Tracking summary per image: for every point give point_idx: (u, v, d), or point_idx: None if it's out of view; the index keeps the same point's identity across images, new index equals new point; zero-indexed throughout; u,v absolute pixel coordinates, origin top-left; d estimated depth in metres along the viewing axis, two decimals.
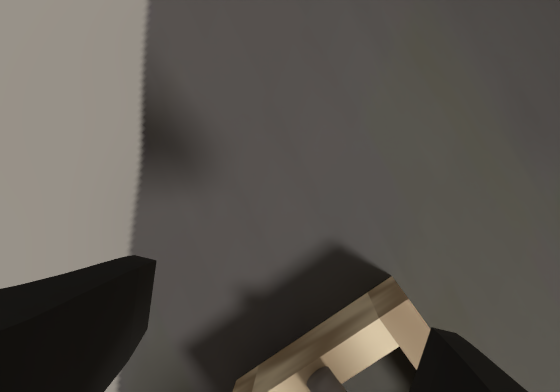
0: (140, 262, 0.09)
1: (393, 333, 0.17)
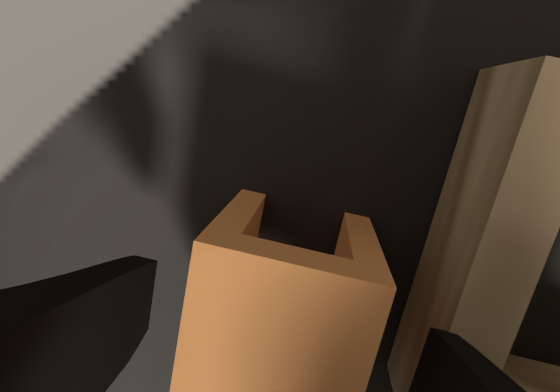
0: (141, 262, 0.09)
1: None
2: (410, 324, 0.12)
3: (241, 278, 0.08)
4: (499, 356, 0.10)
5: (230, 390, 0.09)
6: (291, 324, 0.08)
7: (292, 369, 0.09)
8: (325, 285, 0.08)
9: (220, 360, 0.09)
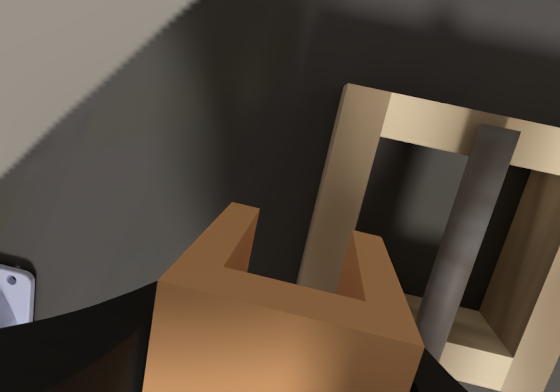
0: None
1: None
2: (302, 262, 0.18)
3: (221, 329, 0.06)
4: (338, 271, 0.15)
5: None
6: (285, 388, 0.06)
7: None
8: (330, 340, 0.06)
9: None
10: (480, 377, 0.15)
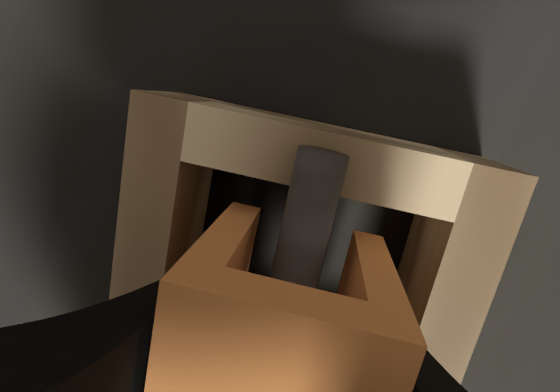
0: None
1: (467, 200, 0.10)
2: None
3: (222, 329, 0.06)
4: None
5: None
6: (288, 389, 0.06)
7: None
8: (332, 340, 0.06)
9: None
10: None
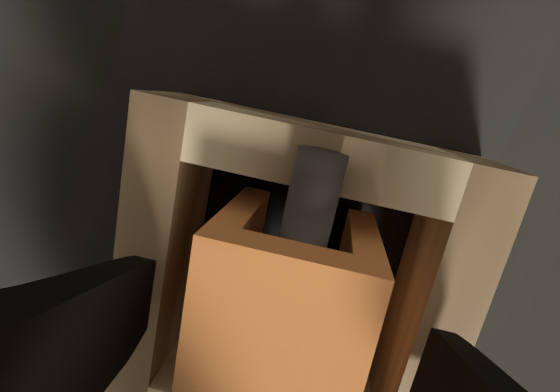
0: (140, 262, 0.09)
1: (466, 200, 0.10)
2: None
3: (240, 272, 0.08)
4: (149, 334, 0.11)
5: (231, 383, 0.09)
6: (290, 318, 0.08)
7: (292, 363, 0.09)
8: (323, 278, 0.08)
9: (221, 353, 0.09)
10: None
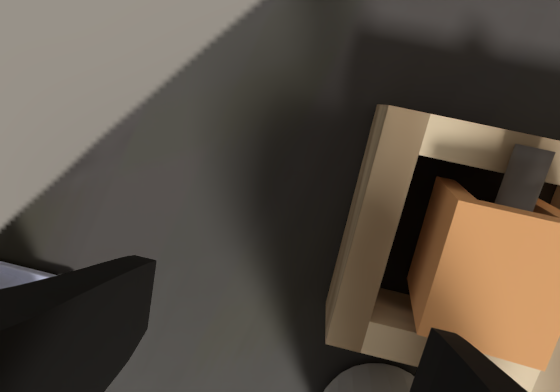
0: (140, 262, 0.09)
1: None
2: (336, 271, 0.19)
3: (489, 225, 0.13)
4: (376, 281, 0.16)
5: (471, 302, 0.13)
6: (522, 256, 0.13)
7: (519, 288, 0.13)
8: (549, 230, 0.12)
9: (466, 281, 0.13)
10: None
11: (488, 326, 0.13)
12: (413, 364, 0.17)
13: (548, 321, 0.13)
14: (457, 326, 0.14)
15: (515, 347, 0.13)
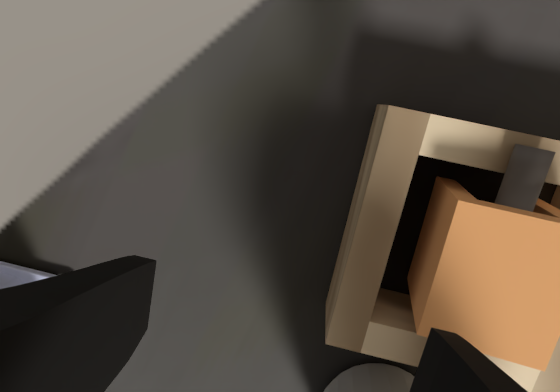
0: (140, 262, 0.09)
1: None
2: (336, 271, 0.19)
3: (489, 225, 0.13)
4: (376, 281, 0.16)
5: (471, 302, 0.13)
6: (522, 256, 0.13)
7: (519, 288, 0.13)
8: (549, 230, 0.12)
9: (466, 281, 0.13)
10: None
11: (488, 326, 0.13)
12: (413, 364, 0.17)
13: (548, 321, 0.13)
14: (457, 326, 0.14)
15: (515, 347, 0.13)
